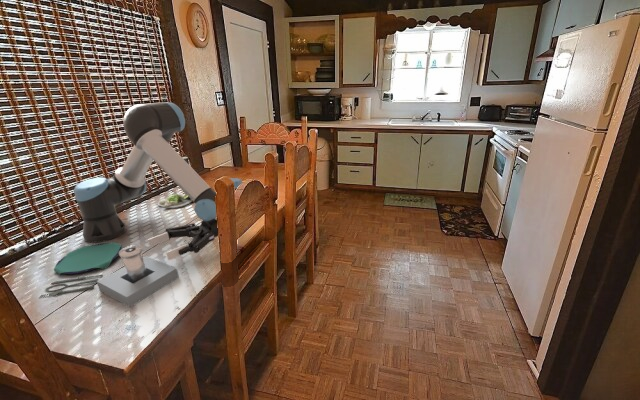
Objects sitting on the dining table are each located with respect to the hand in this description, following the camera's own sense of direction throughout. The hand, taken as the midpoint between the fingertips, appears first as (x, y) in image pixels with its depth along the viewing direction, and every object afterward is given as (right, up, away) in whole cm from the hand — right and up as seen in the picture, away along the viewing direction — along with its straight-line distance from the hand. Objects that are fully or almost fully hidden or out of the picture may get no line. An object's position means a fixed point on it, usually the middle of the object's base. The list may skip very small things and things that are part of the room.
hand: (157, 249), depth 98 cm
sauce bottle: (-25, +22, +83) cm, 89 cm away
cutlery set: (-29, -8, +8) cm, 31 cm away
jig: (-5, -11, -2) cm, 12 cm away
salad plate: (-23, +14, +65) cm, 70 cm away
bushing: (-5, -10, -2) cm, 11 cm away
